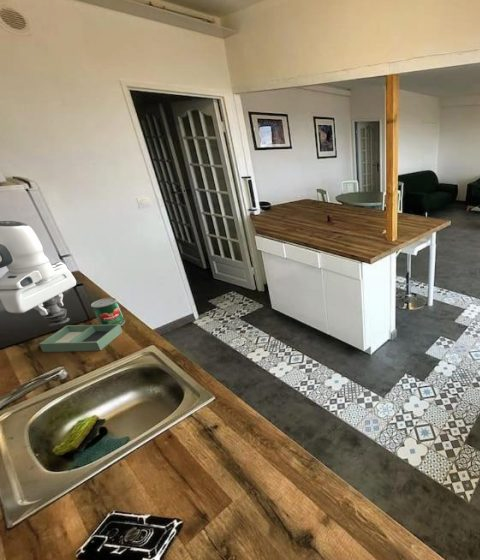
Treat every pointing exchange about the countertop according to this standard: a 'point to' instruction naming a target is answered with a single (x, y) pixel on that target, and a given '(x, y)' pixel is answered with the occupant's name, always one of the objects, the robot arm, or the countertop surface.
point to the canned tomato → (108, 311)
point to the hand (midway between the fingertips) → (52, 310)
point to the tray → (81, 338)
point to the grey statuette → (55, 313)
